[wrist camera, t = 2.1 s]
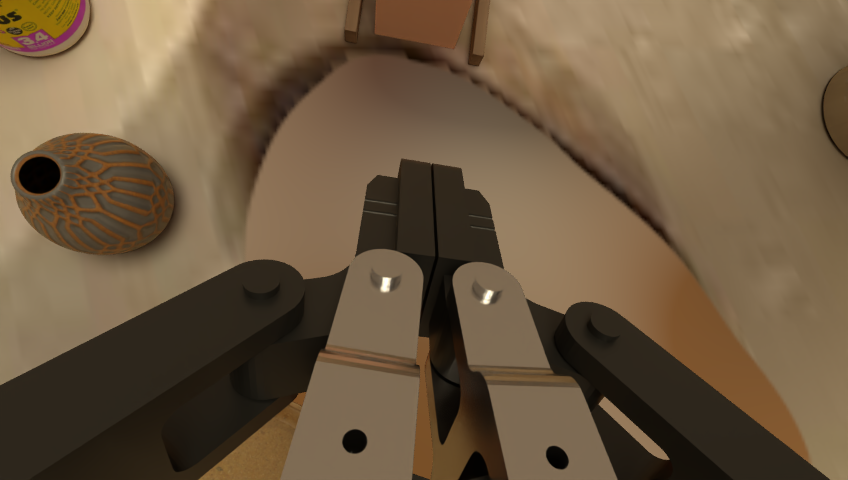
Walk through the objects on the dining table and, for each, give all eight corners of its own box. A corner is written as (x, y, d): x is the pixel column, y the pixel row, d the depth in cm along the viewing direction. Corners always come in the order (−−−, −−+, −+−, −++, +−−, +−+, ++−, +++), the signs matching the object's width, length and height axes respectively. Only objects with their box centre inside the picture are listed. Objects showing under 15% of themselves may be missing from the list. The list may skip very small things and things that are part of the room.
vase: (66, 249, 29) (-63, 236, 20) (89, 146, 29) (-26, 90, 21) (178, 264, 29) (101, 257, 21) (198, 164, 30) (130, 117, 22)
